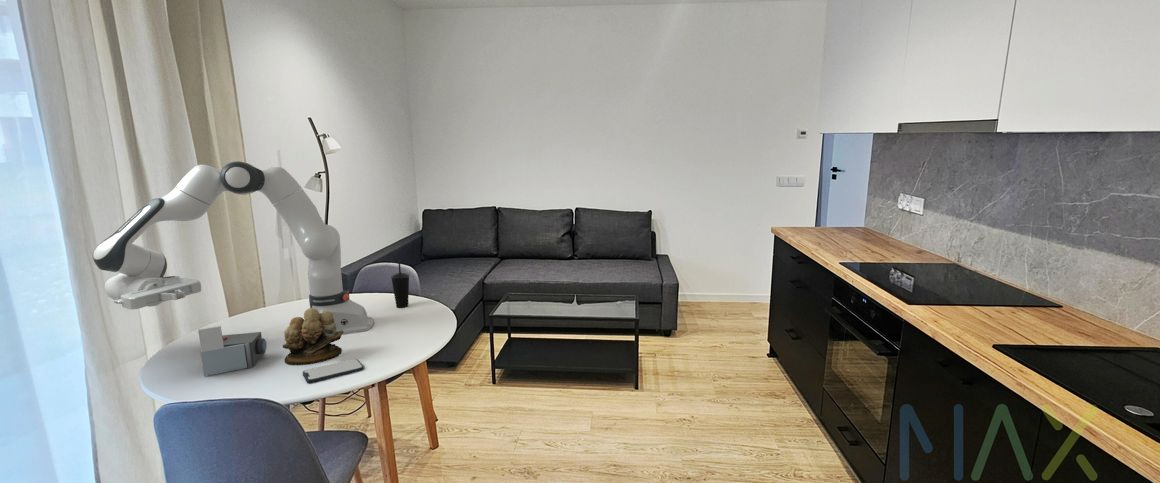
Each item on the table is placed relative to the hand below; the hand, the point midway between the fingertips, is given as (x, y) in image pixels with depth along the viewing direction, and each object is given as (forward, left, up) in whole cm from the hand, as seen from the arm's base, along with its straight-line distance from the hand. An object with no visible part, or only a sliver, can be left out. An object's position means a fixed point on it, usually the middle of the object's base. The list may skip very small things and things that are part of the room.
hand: (180, 296), depth 156 cm
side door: (-12, +5, -24) cm, 27 cm away
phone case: (-43, +15, -24) cm, 52 cm away
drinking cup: (-60, -47, -24) cm, 80 cm away
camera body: (-12, -2, -24) cm, 27 cm away
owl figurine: (-35, 0, -24) cm, 43 cm away
